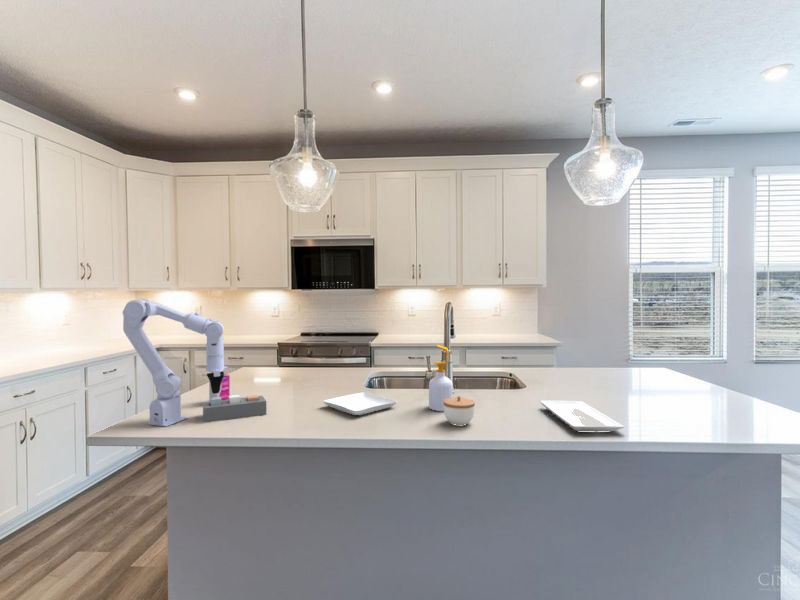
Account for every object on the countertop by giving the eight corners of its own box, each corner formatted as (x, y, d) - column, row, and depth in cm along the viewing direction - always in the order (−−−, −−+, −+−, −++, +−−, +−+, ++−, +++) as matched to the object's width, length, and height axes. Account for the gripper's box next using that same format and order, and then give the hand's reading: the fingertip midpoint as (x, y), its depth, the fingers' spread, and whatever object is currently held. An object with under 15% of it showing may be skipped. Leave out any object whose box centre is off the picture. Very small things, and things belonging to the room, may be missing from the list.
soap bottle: (430, 404, 174) (430, 343, 173) (453, 405, 172) (453, 344, 171) (427, 410, 165) (427, 346, 164) (451, 412, 163) (451, 347, 162)
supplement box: (216, 405, 172) (216, 377, 172) (208, 403, 176) (208, 375, 175) (230, 402, 177) (229, 374, 176) (222, 400, 180) (221, 372, 180)
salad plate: (363, 398, 184) (363, 390, 184) (398, 409, 169) (398, 400, 169) (321, 408, 169) (321, 399, 169) (355, 420, 154) (355, 411, 154)
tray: (581, 408, 169) (581, 399, 169) (625, 436, 138) (625, 425, 138) (538, 408, 169) (538, 400, 169) (572, 437, 137) (573, 426, 137)
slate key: (210, 411, 154) (210, 400, 154) (210, 408, 157) (209, 397, 157) (221, 409, 156) (221, 398, 156) (220, 407, 159) (220, 396, 159)
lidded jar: (441, 418, 155) (441, 392, 155) (470, 418, 156) (470, 392, 156) (445, 428, 144) (446, 400, 144) (477, 428, 145) (477, 400, 145)
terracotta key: (248, 409, 160) (248, 398, 160) (247, 406, 163) (246, 396, 163) (258, 407, 162) (258, 397, 161) (257, 405, 165) (256, 395, 165)
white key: (229, 408, 157) (229, 397, 157) (228, 406, 160) (228, 395, 160) (240, 407, 159) (240, 396, 159) (239, 405, 162) (239, 394, 162)
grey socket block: (204, 422, 151) (203, 408, 151) (202, 415, 159) (202, 402, 159) (266, 414, 160) (266, 401, 160) (262, 408, 168) (262, 395, 168)
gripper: (229, 357, 151) (229, 396, 152) (225, 351, 164) (225, 387, 165) (207, 359, 148) (207, 398, 149) (204, 353, 161) (205, 389, 161)
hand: (215, 392), depth 156 cm, fingers closed
